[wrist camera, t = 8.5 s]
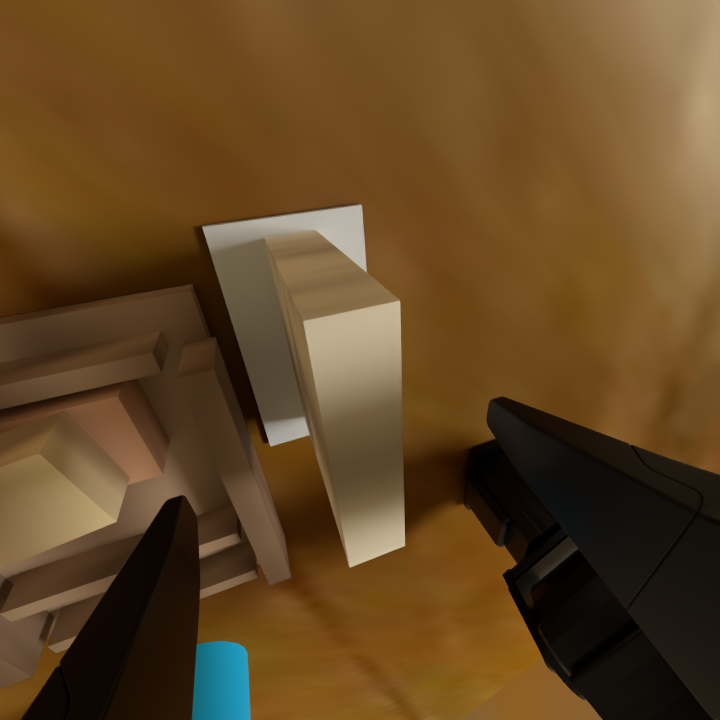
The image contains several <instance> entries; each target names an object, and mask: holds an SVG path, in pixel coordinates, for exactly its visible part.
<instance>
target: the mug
mask: <svg viewBox="0 0 720 720" xmlns="http://www.w3.org/2000/svg"><path fill="white" fill-rule="evenodd" d="M192 720H250V698H249V676H248V654H247V651H246V650H245V648H244V647H243V646H241V645H239V644H237V643H233V642H224V641H219V642H208V643H202V644H197V649H196V664H195V680H194V695H193V710H192Z"/></svg>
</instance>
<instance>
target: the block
mask: <svg viewBox="0 0 720 720" xmlns="http://www.w3.org/2000/svg"><path fill="white" fill-rule="evenodd" d="M264 239H265V243H266V247H267V252H268V256H269V261H270V265H271V270H272V274H273V279H274V283H275V288H276V292H277V297H278V301H279V306H280V310H281V315H282V319H283V324H284V328H285V333H286V337H287V341H288V346H289V350H290V355H291V359H292V364H293V368H294V373H295V377H296V382H297V386H298V391H299V395H300V400H301V404H302V409H303V413H304V417H305V421H306V424H307V427H308V431H309V434H310V437H311V441H312V444H313V447H314V451H315V454H316V457H317V461H318V464H319V467H320V471H321V474H322V477H323V481H324V484H325V487H326V491H327V494H328V497H329V501H330V504H331V507H332V511H333V514H334V517H335V521H336V524H337V527H338V531H339V534H340V537H341V541H342V544H343V547H344V551H345V554H346V557H347V561H348V564H349V567H352V566H355V565H358V564H360V563H363V562H365V561H368V560H370V559H373V558H375V557H378V556H380V555H383V554H386V553H388V552H391V551H393V550H396V549H398V548H401V547H403V546H405V515H404V466H403V417H402V368H401V320H400V300H399V299H398V298H397V297H395V296H394V295H393V294H392V293H391V292H389V291H388V290H387V289H386V288H385V287H383V286H382V285H381V284H380V283H379V282H377V281H376V280H375V279H374V278H373V277H371V276H370V275H369V274H368V273H367V272H365V271H364V270H363V269H362V268H361V267H359V266H358V265H357V264H356V263H355V262H353V261H352V260H351V259H350V258H349V257H347V256H346V255H345V254H344V253H343V252H342V251H340V250H339V249H338V248H337V247H336V246H334V245H333V244H332V243H331V242H330V241H328V240H327V239H326V238H325V237H324V236H322V235H321V234H320V233H319V232H318V231H316V230H313V231H306V232H300V233H293V234H287V235H280V236H274V237H267V238H264Z"/></svg>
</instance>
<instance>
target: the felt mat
mask: <svg viewBox="0 0 720 720" xmlns="http://www.w3.org/2000/svg"><path fill="white" fill-rule="evenodd" d="M202 228H203V231H204V235H205V238H206V241H207V244H208V247H209V251H210V254H211V257H212V260H213V264H214V267H215V270H216V273H217V276H218V280H219V283H220V286H221V289H222V292H223V296H224V299H225V302H226V305H227V309H228V312H229V315H230V318H231V321H232V325H233V328H234V331H235V334H236V337H237V341H238V344H239V347H240V350H241V354H242V357H243V360H244V363H245V366H246V370H247V373H248V376H249V379H250V382H251V386H252V389H253V392H254V395H255V399H256V402H257V405H258V408H259V411H260V415H261V418H262V421H263V424H264V427H265V431H266V434H267V437H268V440H269V444H270V446H274V445H277V444H281V443H284V442H287V441H291V440H294V439H298V438H301V437H305V436H308V435H310V434H309V431H308V427H307V424H306V421H305V417H304V413H303V409H302V404H301V400H300V395H299V391H298V386H297V382H296V377H295V373H294V368H293V364H292V359H291V355H290V350H289V346H288V341H287V337H286V333H285V328H284V324H283V319H282V315H281V310H280V306H279V301H278V297H277V292H276V288H275V283H274V279H273V274H272V270H271V265H270V261H269V256H268V252H267V247H266V243H265V239H264V238H267V237H274V236H280V235H287V234H293V233H300V232H306V231H313V230H316V231H318V232H319V233H320V234H321V235H322V236H324V237H325V238H326V239H327V240H328V241H330V242H331V243H332V244H333V245H334V246H336V247H337V248H338V249H339V250H340V251H342V252H343V253H344V254H345V255H346V256H347V257H349V258H350V259H351V260H352V261H353V262H355V263H356V264H357V265H358V266H359V267H361V268H362V269H363V270H364V271H365V272H367V271H366V257H365V243H364V229H363V215H362V205H361V204H356V205H349V206H341V207H334V208H327V209H320V210H313V211H306V212H298V213H291V214H284V215H277V216H270V217H263V218H255V219H248V220H241V221H234V222H227V223H220V224H212V225H205V226H202Z"/></svg>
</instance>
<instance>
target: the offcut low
mask: <svg viewBox="0 0 720 720" xmlns="http://www.w3.org/2000/svg"><path fill="white" fill-rule="evenodd" d="M63 411H67V412H68V413H69V414H70V416H71V417H72V418H73V419H74V420H75V421H76V422H77V423H78V424H79V425H80V426H81V427H82V428H83V429H84V430H85V431H86V432H87V433H88V434H89V435H90V436H91V437H92V438H93V439H94V440H95V441H96V443H97V444H98V445H99V446H100V447H101V448H102V449H103V450H104V451H105V452H106V453H107V454H108V455H109V456H110V457H111V458H112V459H113V460H114V461H115V462H116V463H117V464H118V465H119V466H120V467H121V468H122V469H123V471H124V472H125V473H126V474H127V475H128V476H129V477H130V478H129V481H128V485H129V484H133V483H136V482H140V481H143V480H147V479H150V478H154V477H157V476H160V475H163V473H164V468H165V463H166V458H167V453H168V447H169V442H170V440H169V438H168V437H167V435H166V433H165V431H164V429H163V427H162V425H161V423H160V421H159V419H158V418H157V416H156V414H155V412H154V410H153V408H152V406H151V404H150V402H149V400H148V399H147V397H146V395H145V393H144V391H143V389H142V387H141V385H140V383H139V381H138V380H137V379H132V380H128V381H124V382H119V383H115V384H110V385H106V386H102V387H97V388H93V389H88V390H84V391H80V392H75V393H71V394H66V395H62V396H57V397H53V398H49V399H44V400H40V401H35V402H31V403H27V404H22V405H18V406H13V407H9V408H5V409H0V434H1V433H4V432H6V431H9V430H12V429H15V428H18V427H20V426H23V425H26V424H29V423H32V422H35V421H37V420H40V419H43V418H46V417H49V416H52V415H54V414H57V413H60V412H63Z"/></svg>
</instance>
